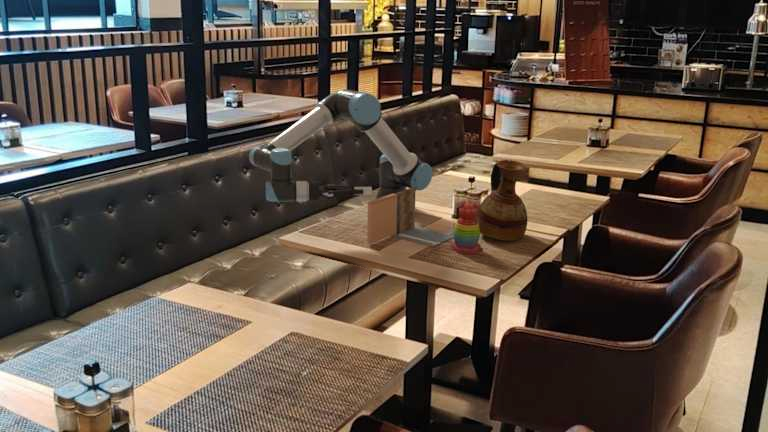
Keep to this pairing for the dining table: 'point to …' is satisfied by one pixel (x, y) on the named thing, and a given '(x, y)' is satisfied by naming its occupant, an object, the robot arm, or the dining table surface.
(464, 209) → the stacking bear
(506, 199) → the ceramic pitcher
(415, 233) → the card
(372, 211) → the tan square panel
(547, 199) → the dining table surface
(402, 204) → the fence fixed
